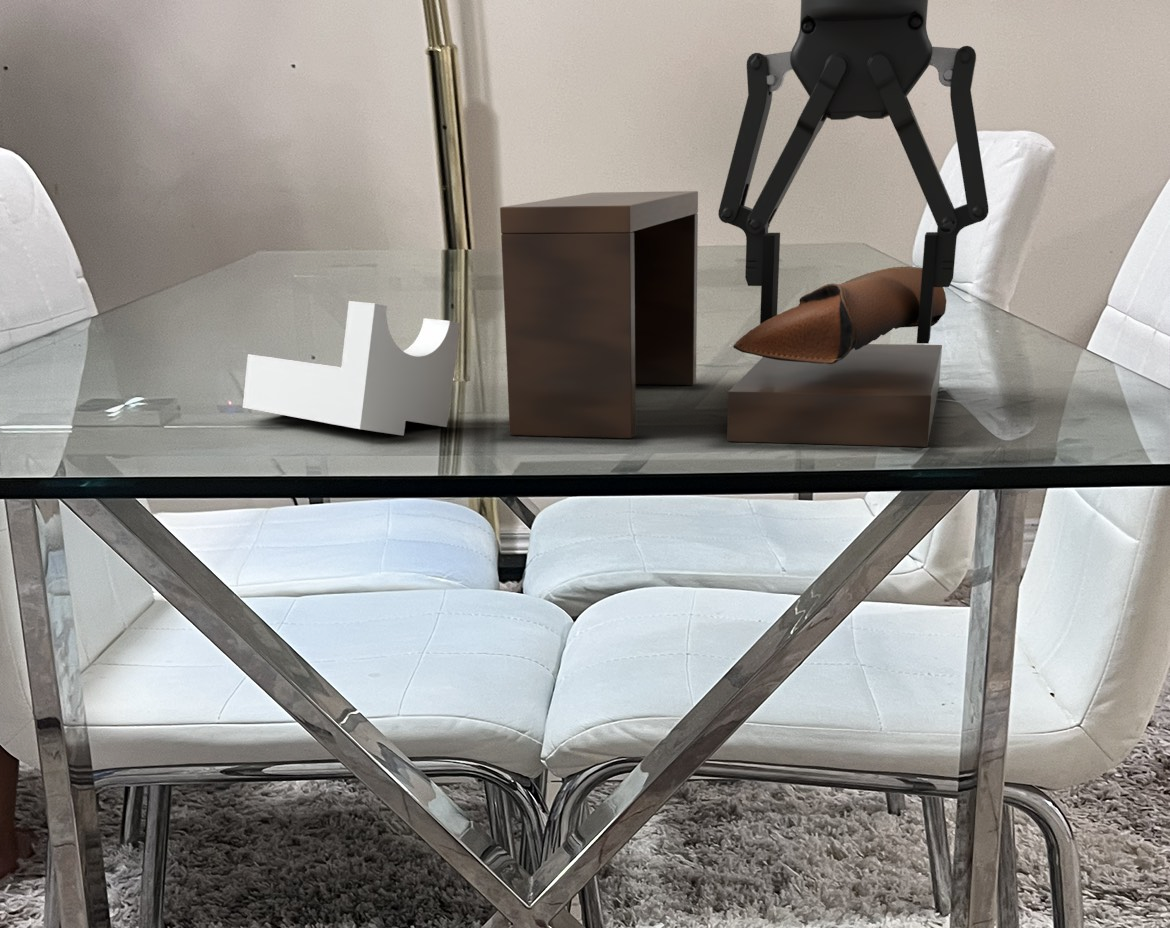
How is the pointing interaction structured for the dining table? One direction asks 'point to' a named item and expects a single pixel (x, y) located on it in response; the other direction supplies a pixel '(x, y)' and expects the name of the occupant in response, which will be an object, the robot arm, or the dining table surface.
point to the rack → (669, 334)
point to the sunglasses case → (843, 317)
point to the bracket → (363, 377)
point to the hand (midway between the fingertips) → (844, 339)
